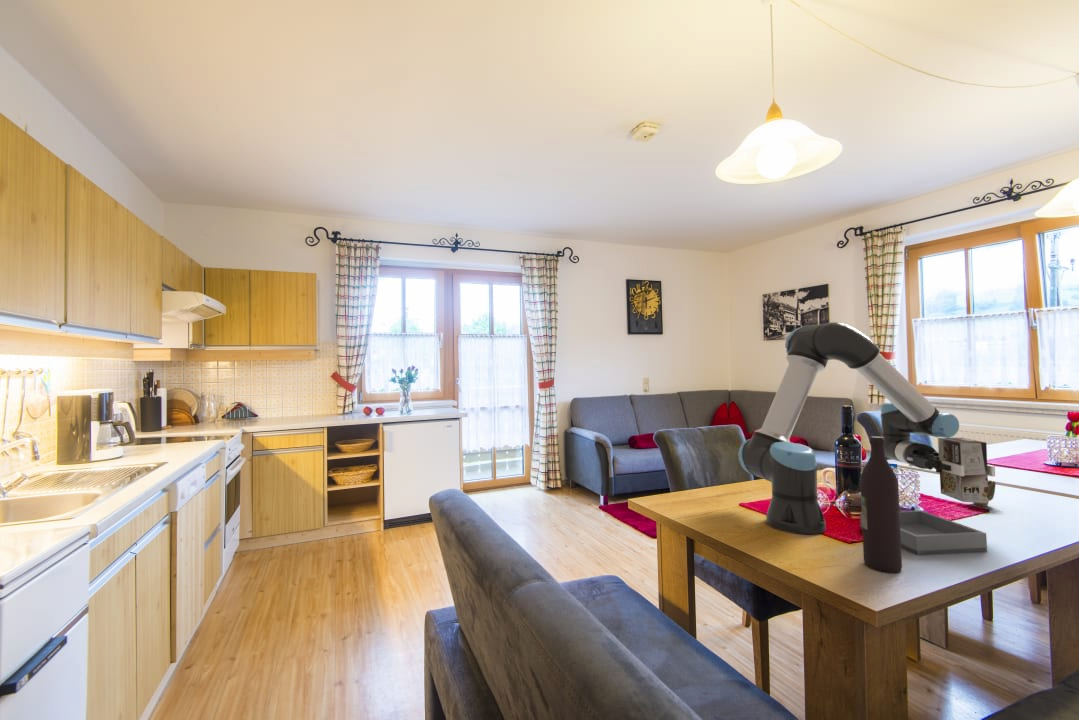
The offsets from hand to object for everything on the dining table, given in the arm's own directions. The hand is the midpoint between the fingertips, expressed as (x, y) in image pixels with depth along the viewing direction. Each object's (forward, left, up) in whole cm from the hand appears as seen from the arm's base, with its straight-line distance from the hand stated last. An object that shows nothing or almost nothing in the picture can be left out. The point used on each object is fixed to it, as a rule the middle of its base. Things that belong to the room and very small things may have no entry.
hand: (977, 471), depth 119 cm
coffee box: (+1, +5, -9) cm, 10 cm away
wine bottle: (-38, -13, -18) cm, 44 cm away
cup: (+27, +25, -18) cm, 41 cm away
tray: (-16, +1, -18) cm, 24 cm away
